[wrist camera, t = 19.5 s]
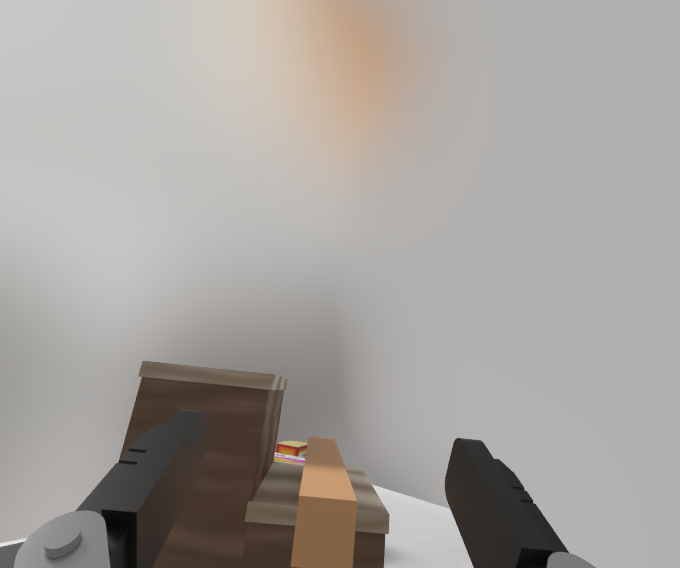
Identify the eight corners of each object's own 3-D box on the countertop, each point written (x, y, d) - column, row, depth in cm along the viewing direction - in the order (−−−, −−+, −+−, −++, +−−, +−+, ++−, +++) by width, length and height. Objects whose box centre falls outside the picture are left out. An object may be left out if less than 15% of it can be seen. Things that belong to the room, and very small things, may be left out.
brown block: (352, 571, 16) (357, 501, 17) (290, 566, 16) (299, 495, 17) (332, 468, 37) (334, 439, 38) (305, 465, 37) (308, 436, 38)
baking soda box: (285, 498, 96) (293, 439, 101) (305, 503, 94) (312, 442, 99) (268, 507, 88) (277, 442, 93) (289, 513, 85) (298, 445, 90)
